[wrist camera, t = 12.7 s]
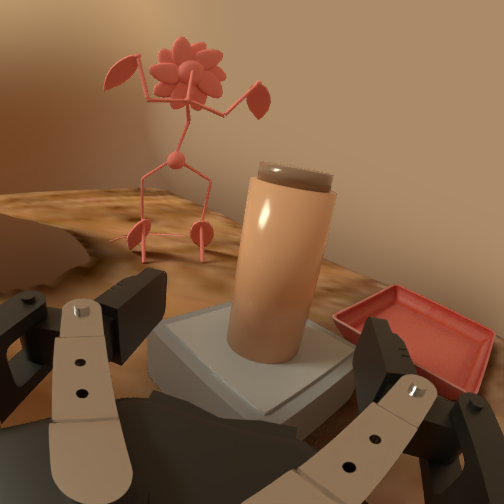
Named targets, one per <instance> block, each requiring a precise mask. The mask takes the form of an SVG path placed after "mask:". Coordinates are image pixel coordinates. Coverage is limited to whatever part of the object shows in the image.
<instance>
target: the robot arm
mask: <svg viewBox="0 0 504 504" xmlns="http://www.w3.org/2000/svg"><path fill="white" fill-rule="evenodd" d="M166 288H167V274H166V272H165V271H161V270H157V269H153V268H149V267H148V268H146V269H145V270H143V271H142V272H141V273H139V274H138V275H136V276H131V277H128V278H125V279H123V280H121V281H120V282H118V283H117V284H116V285H114V286H113V287H111V288H110V289H109V290H107V291H106V292H104V293H103V294H102V295H100V296H99V297H97V298H96V299H95V300H89V299H76V300H72V301H70V302H68V303H66V304H65V305H64V306H63V309H58V308H52V307H47V304H46V297H45V295H44V294H42V293H41V292H38V291H25V292H21V293H18V294H17V295H15V296H13V297H12V298H10V299H9V300H7V301H6V302H4V303H3V304H1V305H0V504H368V503H367V502H366V501H365V499H366V498H367V496H368V495H369V494H370V493H371V492H372V491H373V489H374V488H375V487H376V486H377V485H378V483H379V482H380V481H381V480H382V478H383V477H384V476H385V475H386V473H387V472H388V471H389V469H390V468H391V467H392V465H393V464H394V463H395V461H396V460H397V459H398V457H399V456H400V455H401V453H405V454H409V455H412V456H415V457H419V462H420V468H421V475H422V482H423V490H424V499H425V504H504V436H503V433H502V431H501V429H500V426H499V424H498V422H497V419H496V417H495V415H494V413H493V411H492V408H491V406H490V404H489V403H488V402H487V401H486V400H485V399H484V398H483V397H481V396H480V395H478V394H475V393H471V392H465V393H462V394H461V395H460V396H459V398H458V399H457V401H456V403H455V402H451V401H448V400H445V399H442V398H439V397H437V390H436V388H435V386H434V385H433V384H432V383H431V382H430V381H429V380H427V379H426V378H424V377H421V376H418V374H417V371H416V369H415V366H414V364H413V361H412V359H411V358H410V354H409V352H408V351H407V350H408V349H407V347H406V345H405V342H404V341H403V340H402V339H401V338H400V337H399V336H398V335H397V334H396V333H392V331H391V328H390V326H389V323H388V321H387V320H386V319H381V318H376V317H370V316H369V317H368V318H367V319H366V321H365V324H364V327H363V329H362V332H361V335H360V337H359V340H358V343H357V345H356V348H355V351H354V355H353V361H352V366H353V373H354V380H355V387H356V395H357V403H358V412H359V416H358V417H357V418H356V419H355V420H354V421H353V422H351V423H350V424H349V425H348V426H347V427H346V428H345V429H344V430H343V431H342V432H341V433H340V434H338V435H337V436H336V437H335V438H334V439H333V440H332V441H331V442H329V443H328V444H327V445H326V446H325V447H324V448H322V449H321V450H318V449H317V448H315V447H314V446H312V445H310V444H309V443H307V442H305V441H303V440H300V439H298V438H296V434H297V427H293V426H287V425H282V424H277V423H272V422H267V421H262V420H241V419H225V418H220V417H217V416H215V415H213V414H211V413H209V412H207V411H205V410H203V409H201V408H199V407H198V406H196V405H194V404H192V403H190V402H188V401H186V400H182V399H179V398H176V397H173V396H170V395H167V394H164V393H161V392H158V391H155V390H154V391H153V392H152V394H151V395H150V397H149V398H148V399H146V398H121V399H116V400H115V398H114V392H113V387H112V382H111V376H110V370H109V364H108V363H109V362H110V361H111V362H114V363H116V364H119V365H121V366H122V365H123V364H124V362H125V361H126V360H127V359H128V358H129V357H130V355H131V354H132V353H133V352H134V351H135V350H136V349H137V347H138V346H139V345H140V344H141V343H142V342H143V341H144V339H145V338H146V337H147V336H148V335H149V334H150V333H151V331H152V330H153V329H154V328H155V327H156V326H157V325H158V324H159V322H160V321H161V320H162V318H163V316H164V313H165V308H166ZM19 337H20V341H21V345H22V350H21V351H20V352H18V353H17V354H16V355H15V356H14V357H13V358H12V359H11V360H9V361H7V357H6V354H7V350H8V347H9V346H10V345H11V344H12V343H13V342H14V341H16V340H17V339H18V338H19ZM52 369H53V376H52V417H51V418H47V419H43V420H39V421H34V422H30V423H26V424H21V425H17V426H12V427H7V428H2V429H1V424H2V423H3V422H4V421H5V420H6V419H7V417H8V416H9V415H10V414H11V413H12V412H13V411H14V410H15V409H16V407H17V406H18V405H19V404H20V403H21V402H22V401H23V400H24V399H25V398H26V397H27V396H28V394H29V393H30V392H31V391H32V390H33V389H34V388H35V387H36V386H37V385H38V384H39V383H40V382H41V381H42V380H43V379H44V378H45V377H46V375H47V374H48V373H49V372H50V371H51V370H52ZM461 453H463V456H464V461H465V464H464V469H463V471H462V469H461V465H460V461H459V456H460V454H461Z"/></svg>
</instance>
